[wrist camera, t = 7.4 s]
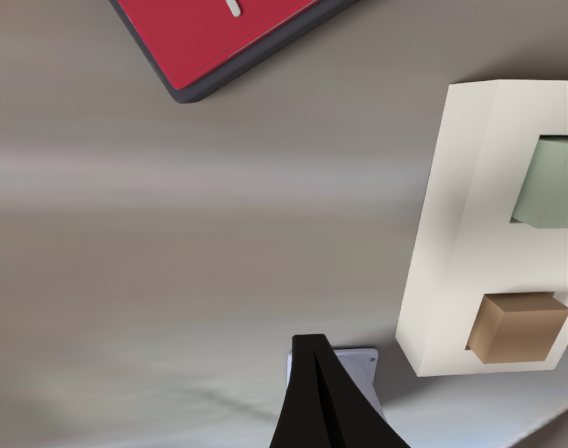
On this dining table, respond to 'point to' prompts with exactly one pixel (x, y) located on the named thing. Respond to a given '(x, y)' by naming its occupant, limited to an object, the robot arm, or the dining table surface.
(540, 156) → the sage key
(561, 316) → the walnut key
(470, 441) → the dining table surface
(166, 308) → the dining table surface
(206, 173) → the dining table surface
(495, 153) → the key panel
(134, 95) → the dining table surface
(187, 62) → the calculator
